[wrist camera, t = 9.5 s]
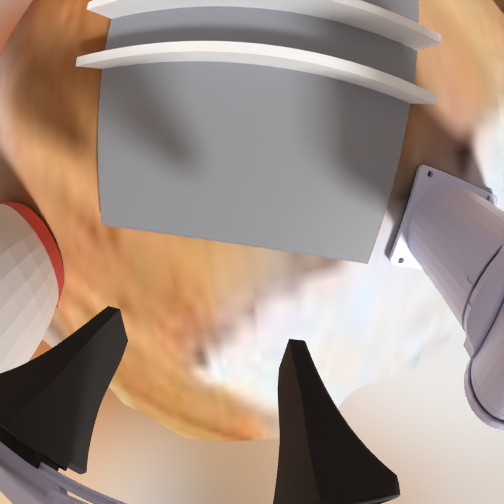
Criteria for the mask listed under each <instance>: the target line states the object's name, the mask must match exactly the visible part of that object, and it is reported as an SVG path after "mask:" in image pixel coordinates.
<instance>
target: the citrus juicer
mask: <svg viewBox="0 0 504 504" xmlns="http://www.w3.org/2000/svg"><path fill="white" fill-rule="evenodd" d="M63 284H64V268H63V263H62V259H61V256H60V253H59V250H58V248H57V245H56V243H55V241H54V239H53V237H52V235H51V233H50V232H49V230H48V227H47V226H46V225H45V224H44V223H43V221H42V220H41V219H40V217H39V216H38V215H37V214H36V213H35V212H34V211H33V210H31V209H30V208H29V207H27V206H26V205H24V204H21V203H17V202H0V373H3V372H5V371H8V370H11V369H13V368H16V367H18V366H21V365H23V364H25V363H27V362H28V361H29V360H30V358H31V357H32V355H33V354H34V352H35V350H36V349H37V347H38V345H39V343H40V342H41V340H42V339H43V337H44V335H45V332H46V330H47V328H48V326H49V324H50V322H51V319H52V316H53V314H54V311H55V309H56V307H57V306H58V302H59V299H60V295H61V292H62V288H63Z"/></svg>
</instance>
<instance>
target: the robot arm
mask: <svg viewBox="0 0 504 504" xmlns="http://www.w3.org/2000/svg"><path fill="white" fill-rule="evenodd" d="M429 171H430V172H431V173H430V176H428V172H429ZM486 198H487V199H486ZM496 205H497V197H496V196H495V195H493V194H491V193H489V192H487V191H485V190H483V189H481V188H479V187H477V186H475V185H472V184H470V183H468V182H466V181H464V180H461V179H459V178H457V177H454V176H452V175H450V174H447V173H445V172H442V171H440V170H437V169H435V168H432V167H430V166H427V165H424V164H422V165H420V166H419V167H418V169H417V173H416V176H415V180H414V184H413V187H412V191H411V194H410V197H409V201H408V204H407V207H406V210H405V213H404V217H403V220H402V223H401V225H400V228H399V231H398V234H397V237H396V240H395V242H394V245H393V248H392V250H391V253H390V255H389V261H390V263H391V264H392V265H397V266H403V267H409V268H415V269H422V270H424V271H425V273H426V274H427V275H428V277H429V278H430V280H431V281H432V282H433V284H434V285H435V287H436V288H437V289H438V291H439V292H440V294H441V295H442V297H443V298H444V300H445V301H446V303H447V304H448V306H449V307H450V309H451V310H452V312H453V313H454V315H455V316H456V318H457V320H458V321H459V323H460V324H461V326H462V328H463V329H464V331H465V333H466V340H465V342H464V347H465V348H466V350H467V352H468V354H469V356H470V358H471V359H470V361H469V363H468V365H467V367H466V371H465V376H464V388H465V393H466V397H467V400H468V402H469V405H470V407H471V408H472V410H473V411H474V413H475V414H476V416H477V417H478V418H479V419H480V420H481V421H483V422H484V423H486V424H487V425H489V426H491V427H493V428H497V429H502V430H504V212H503V211H502V210H500V209H499V208H497V207H496ZM400 258H402V259H401V260H400V261H398V260H399V259H400ZM127 342H128V339H127V335H126V332H125V328H124V324H123V320H122V316H121V311H120V309H117V308H114V307H110V306H108V307H107V308H105V309H104V310H103V311H101V312H100V313H99V314H97V315H96V316H95V317H94V318H92V319H91V320H90V321H89V322H87V323H86V324H85V325H83V326H82V327H81V328H80V329H78V330H77V331H76V332H74V333H73V334H72V335H70V336H69V337H68V338H66V339H65V340H63V341H62V342H61V343H59V344H58V345H56V346H55V347H53V348H52V349H50V350H49V351H47V352H45V353H44V354H42V355H40V356H39V357H37V358H35V359H33V360H31V361H29V362H27V363H25V364H23V365H21V366H18V367H16V368H13V369H11V370H8V371H5V372H3V373H0V491H1V492H2V493H3V494H4V495H5V496H6V497H7V498H8V499H9V500H10V501H11V502H12V503H13V504H88V503H85V502H83V501H81V500H79V499H76V498H74V497H72V496H69V495H68V493H67V491H69V492H71V493H73V494H75V495H77V496H79V497H81V498H83V499H85V500H87V501H89V502H91V503H93V504H126V503H123V502H121V501H118V500H115V499H113V498H110V497H108V496H105V495H103V494H101V493H99V492H96V491H94V490H92V489H90V488H88V487H86V486H84V485H81V484H80V483H78V482H76V481H74V480H72V479H70V478H68V477H66V476H65V475H63V474H61V473H59V472H58V469H59V468H61V469H63V470H64V471H66V470H67V468H69V469H71V470H73V471H75V472H77V473H79V474H83V473H85V472H86V471H87V460H88V452H89V446H90V441H91V436H92V432H93V428H94V424H95V420H96V417H97V413H98V410H99V407H100V404H101V402H102V399H103V397H104V395H105V392H106V390H107V388H108V386H109V384H110V382H111V380H112V378H113V376H114V374H115V372H116V370H117V368H118V366H119V364H120V361H121V359H122V356H123V354H124V351H125V348H126V345H127ZM278 407H279V427H280V447H279V460H278V470H277V479H276V487H275V495H274V501H273V504H381V503H384V502H387V501H389V500H392V499H395V498H397V497H399V495H400V489H399V482H398V479H397V475H396V474H395V473H393V472H392V471H391V470H390V469H389V468H387V467H386V466H385V465H384V464H383V463H382V462H381V461H380V460H378V459H377V457H376V456H375V455H374V454H373V453H372V452H371V451H370V450H369V449H368V448H367V447H366V446H365V445H364V444H363V442H361V440H360V439H359V438H358V437H357V435H356V434H355V433H354V432H353V430H352V429H351V428H350V427H349V425H348V424H347V422H346V421H345V419H344V418H343V417H342V415H341V414H340V412H339V410H338V409H337V407H336V406H335V404H334V402H333V400H332V399H331V397H330V395H329V393H328V392H327V390H326V388H325V386H324V384H323V382H322V380H321V378H320V376H319V374H318V372H317V369H316V367H315V365H314V363H313V360H312V358H311V355H310V353H309V350H308V348H307V345H306V343H305V341H303V340H293V339H289V341H288V344H287V347H286V350H285V353H284V356H283V359H282V362H281V364H280V367H279V377H278Z"/></svg>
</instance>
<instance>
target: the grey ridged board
mask: <svg viewBox="0 0 504 504" xmlns="http://www.w3.org/2000/svg"><path fill="white" fill-rule="evenodd" d="M87 10H89V11H92V12H95V13H97V14H100V15H103V16H105V17H108V18H110V19H111V22H110V26H109V31H108V36H107V42H106V47H105V51H101V52H96V53H92V54H88V55H84V56H80V57H77V60H76V66H78V67H89V68H98V69H102V76H101V85H100V96H99V111H98V181H99V196H100V208H101V218H102V225H106V226H113V227H120V228H127V229H134V230H142V231H149V232H156V233H163V234H170V235H177V236H184V237H191V238H198V239H205V240H212V241H219V242H226V243H232V244H239V245H246V246H253V247H260V248H266V249H273V250H280V251H287V252H293V253H300V254H307V255H313V256H320V257H327V258H333V259H340V260H346V261H353V262H359V263H366V264H368V261H369V259H370V256H371V253H372V250H373V248H374V245H375V242H376V239H377V236H378V233H379V230H380V227H381V224H382V221H383V218H384V214H385V211H386V208H387V205H388V201H389V198H390V194H391V191H392V187H393V184H394V180H395V176H396V172H397V168H398V164H399V160H400V156H401V151H402V147H403V142H404V138H405V133H406V128H407V123H408V117H409V111H410V105H411V104H432V105H435V104H436V97H437V95H436V94H434V93H432V92H430V91H428V90H425V89H423V88H421V87H419V86H417V85H414V77H415V68H416V57H417V50H421V49H424V48H427V47H431V46H435V45H438V44H441V35H439V34H438V33H436V32H434V31H432V30H430V29H428V28H426V27H424V26H422V25H420V24H418V16H419V6H418V0H93V1H90V2H89V3H88V7H87Z"/></svg>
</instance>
